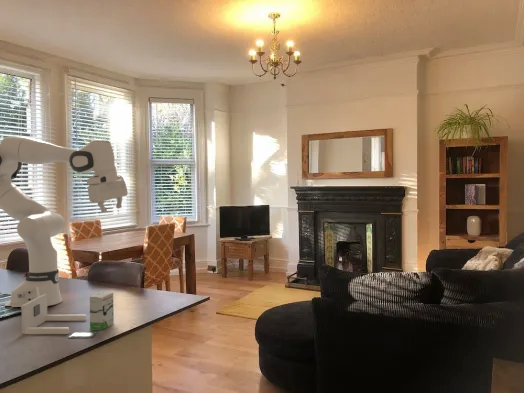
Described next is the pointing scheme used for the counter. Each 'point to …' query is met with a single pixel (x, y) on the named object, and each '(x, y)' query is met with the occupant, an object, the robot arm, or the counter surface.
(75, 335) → the picture frame
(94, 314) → the ink box
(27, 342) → the counter surface
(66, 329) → the dock
